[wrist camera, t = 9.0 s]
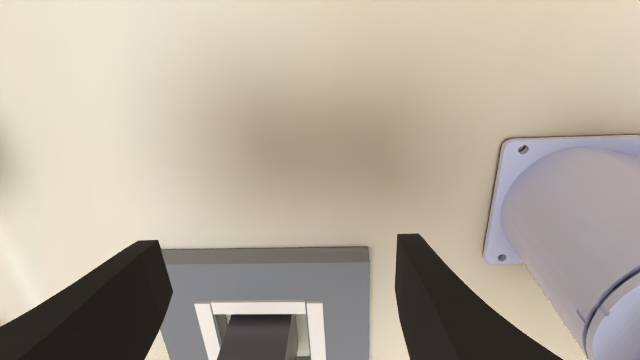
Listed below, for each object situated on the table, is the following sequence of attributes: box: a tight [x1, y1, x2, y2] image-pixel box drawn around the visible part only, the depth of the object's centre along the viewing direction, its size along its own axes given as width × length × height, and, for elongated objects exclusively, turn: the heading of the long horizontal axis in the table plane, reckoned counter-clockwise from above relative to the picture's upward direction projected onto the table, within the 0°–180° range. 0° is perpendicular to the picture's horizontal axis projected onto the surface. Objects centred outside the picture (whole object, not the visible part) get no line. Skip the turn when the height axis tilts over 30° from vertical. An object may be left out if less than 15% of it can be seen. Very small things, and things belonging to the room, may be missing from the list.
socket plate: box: [160, 247, 369, 360], centre depth 27 cm, size 14×14×2 cm
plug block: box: [217, 314, 298, 360], centre depth 25 cm, size 4×4×6 cm
